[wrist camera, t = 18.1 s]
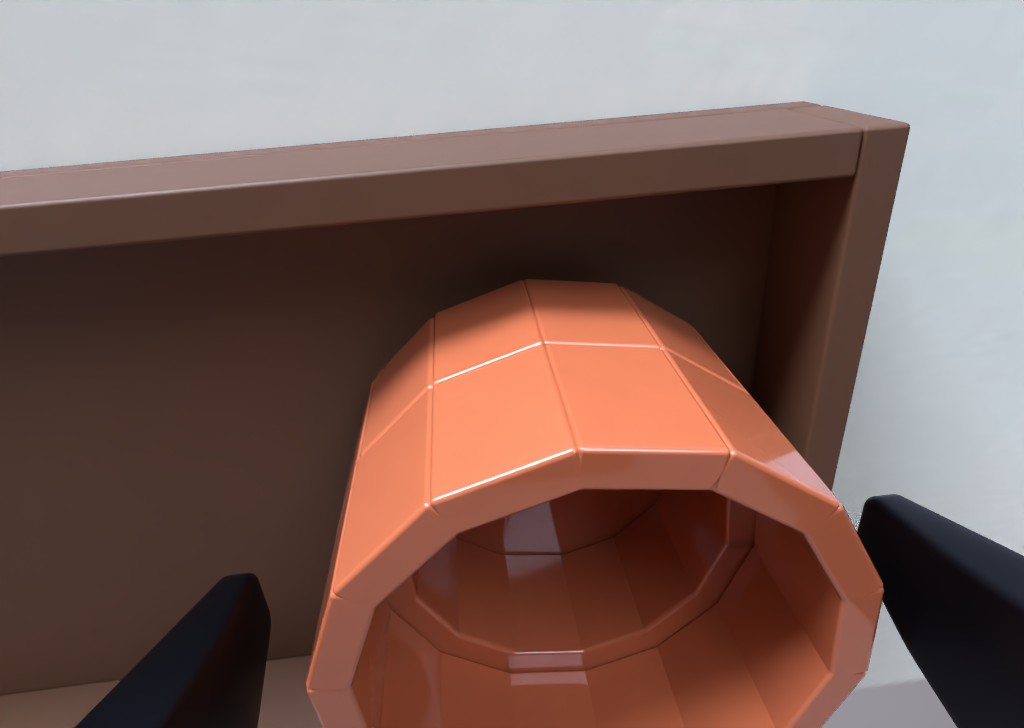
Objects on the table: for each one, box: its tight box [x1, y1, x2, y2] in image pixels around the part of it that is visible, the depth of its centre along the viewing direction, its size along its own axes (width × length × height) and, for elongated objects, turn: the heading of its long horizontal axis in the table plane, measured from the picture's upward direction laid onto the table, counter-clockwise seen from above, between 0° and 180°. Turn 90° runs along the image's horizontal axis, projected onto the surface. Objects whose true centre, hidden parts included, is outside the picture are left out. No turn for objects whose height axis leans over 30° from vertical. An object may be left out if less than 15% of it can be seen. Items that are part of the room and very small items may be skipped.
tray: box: [0, 102, 910, 728], centre depth 11 cm, size 24×11×3 cm, turn 94°
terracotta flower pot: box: [306, 279, 884, 728], centre depth 10 cm, size 7×7×5 cm
